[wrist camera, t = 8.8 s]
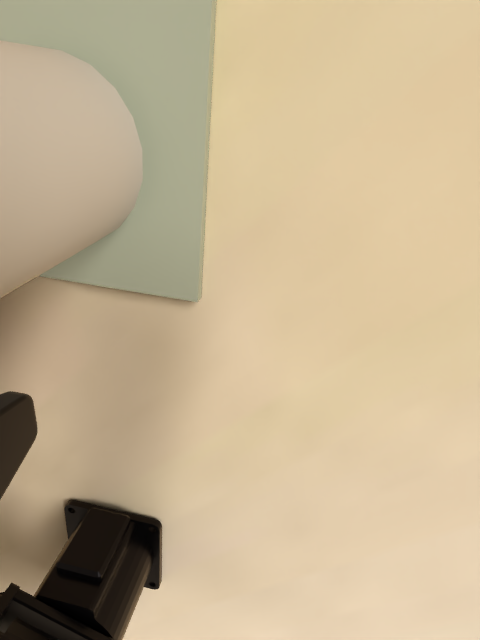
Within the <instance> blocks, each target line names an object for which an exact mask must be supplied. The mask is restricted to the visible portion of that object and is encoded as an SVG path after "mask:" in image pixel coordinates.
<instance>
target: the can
mask: <svg viewBox="0 0 480 640" xmlns="http://www.w3.org/2000/svg"><path fill="white" fill-rule="evenodd" d="M142 181H143V163H142V147H141V143H140V140H139V136H138V133H137V129H136V126H135V122H134V119H133V116H132V115H131V113H130V112H129V110H128V108H127V107H126V105H125V103H124V102H123V100H122V98H121V97H120V95H119V93H118V92H117V90H116V88H115V87H114V86H113V85H112V84H111V83H110V82H108V81H107V80H106V79H105V78H104V77H103V76H102V75H101V74H100V73H99V72H98V71H97V70H96V69H95V68H94V67H93V66H91V65H90V64H89V63H86V62H84V61H82V60H80V59H78V58H76V57H74V56H72V55H70V54H68V53H66V52H64V51H62V50H56V49H50V48H44V47H38V46H31V45H25V44H19V43H13V42H7V41H1V40H0V298H2V297H4V296H5V295H7V294H9V293H10V292H12V291H14V290H15V289H17V288H19V287H20V286H22V285H24V284H26V283H27V282H29V281H31V280H32V279H34V278H36V277H37V276H39V275H41V274H43V273H44V272H46V271H48V270H49V269H51V268H53V267H54V266H56V265H58V264H59V263H61V262H63V261H65V260H66V259H68V258H70V257H71V256H73V255H75V254H76V253H78V252H80V251H81V250H83V249H85V248H87V247H88V246H90V245H92V244H93V243H95V242H97V241H98V240H100V239H102V238H103V237H105V236H106V235H108V234H110V233H111V232H113V231H114V230H116V229H118V228H119V227H120V226H121V225H122V223H123V222H124V221H125V219H126V218H127V217H128V215H129V214H130V213H131V211H132V210H133V209H134V207H135V204H136V201H137V197H138V194H139V191H140V188H141V184H142Z"/></svg>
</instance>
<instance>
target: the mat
mask: <svg viewBox="0 0 480 640" xmlns="http://www.w3.org/2000/svg"><path fill="white" fill-rule="evenodd" d="M215 16H216V0H0V40H1V41H7V42H13V43H19V44H25V45H31V46H38V47H44V48H50V49H56V50H62V51H64V52H66V53H68V54H70V55H72V56H74V57H76V58H78V59H80V60H82V61H84V62H86V63H89V64H90V65H91V66H93V67H94V68H95V69H96V70H97V71H98V72H99V73H100V74H101V75H102V76H103V77H104V78H105V79H106V80H107V81H108V82H110V83H111V84H112V85H113V86H114V87H115V88H116V90H117V92H118V93H119V95H120V97H121V98H122V100H123V102H124V103H125V105H126V107H127V108H128V110H129V112H130V113H131V115H132V116H133V119H134V122H135V126H136V129H137V133H138V136H139V140H140V143H141V147H142V163H143V181H142V184H141V188H140V191H139V194H138V197H137V201H136V204H135V207H134V209H133V210H132V211H131V213H130V214H129V215H128V217H127V218H126V219H125V221H124V222H123V223H122V225H121V226H120V227H119V228H118V229H116V230H114V231H113V232H111V233H110V234H108V235H106V236H105V237H103V238H102V239H100V240H98V241H97V242H95V243H93V244H92V245H90V246H88V247H87V248H85V249H83V250H81V251H80V252H78V253H76V254H75V255H73V256H71V257H70V258H68V259H66V260H65V261H63V262H61V263H59V264H58V265H56V266H54V267H53V268H51V269H49V270H48V271H46V272H44V273H43V274H41V275H39V276H41V277H47V278H53V279H59V280H65V281H71V282H77V283H83V284H89V285H96V286H102V287H108V288H114V289H120V290H126V291H132V292H138V293H144V294H150V295H156V296H162V297H168V298H175V299H181V300H187V301H193V302H198V301H199V300H200V298H201V292H202V272H203V253H204V233H205V213H206V194H207V174H208V154H209V134H210V115H211V95H212V75H213V56H214V36H215Z"/></svg>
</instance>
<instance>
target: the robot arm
mask: <svg viewBox="0 0 480 640" xmlns="http://www.w3.org/2000/svg"><path fill="white" fill-rule="evenodd" d="M36 435H37V422H36V415H35V409H34V403H33V399H32V398H31V396H29V395H28V394H23V393H18V392H11V391H10V392H6V393H3V394H1V395H0V499H1V498H2V496H3V494H4V493H5V491H6V489H7V487H8V486H9V484H10V482H11V481H12V479H13V477H14V475H15V474H16V472H17V470H18V468H19V467H20V465H21V463H22V462H23V460H24V458H25V456H26V455H27V453H28V451H29V449H30V448H31V446H32V444H33V442H34V441H35V438H36ZM65 517H66V525H67V533H68V541H67V543H66V544H65V546H64V548H63V549H62V551H61V552H60V554H59V556H58V557H57V559H56V561H55V562H54V564H53V565H52V567H51V569H50V570H49V572H48V573H47V575H46V577H45V578H44V580H43V582H42V583H41V585H40V586H39V588H38V590H37V591H36V593H35V595H34V596H32V595H30V594H28V593H26V592H24V591H22V590H21V589H19V588H20V587H19V586H17V585H15V584H14V583H11V584H10V585H9V587H8V588H7V590H6V591H5V592H3V593H0V640H122V639H123V637H124V634H125V632H126V629H127V627H128V624H129V622H130V619H131V617H132V614H133V612H134V610H135V607H136V605H137V602H138V600H139V597H140V595H141V592H142V590H143V587H146V588H150V589H158V588H159V586H160V584H161V578H162V524H161V523H160V522H159V521H158V520H155V519H152V518H147V517H143V516H139V515H135V514H130V513H126V512H122V511H118V510H113V509H109V508H105V507H101V506H97V505H92V504H88V503H84V502H80V501H75V500H70V501H69V502H68V503H67V504H66V506H65Z"/></svg>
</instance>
